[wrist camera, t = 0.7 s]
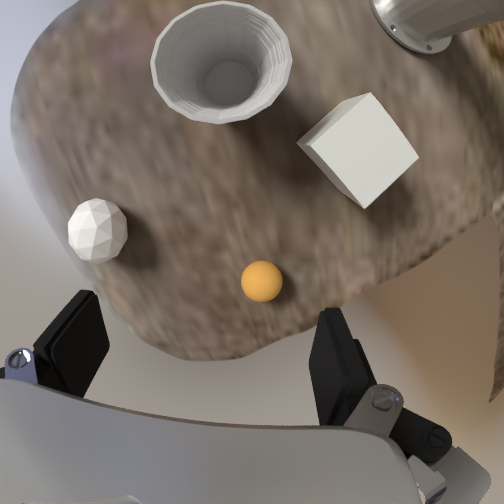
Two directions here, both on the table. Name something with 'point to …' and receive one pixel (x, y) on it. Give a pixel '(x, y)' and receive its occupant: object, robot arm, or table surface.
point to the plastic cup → (221, 62)
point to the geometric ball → (97, 230)
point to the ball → (261, 281)
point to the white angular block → (359, 148)
